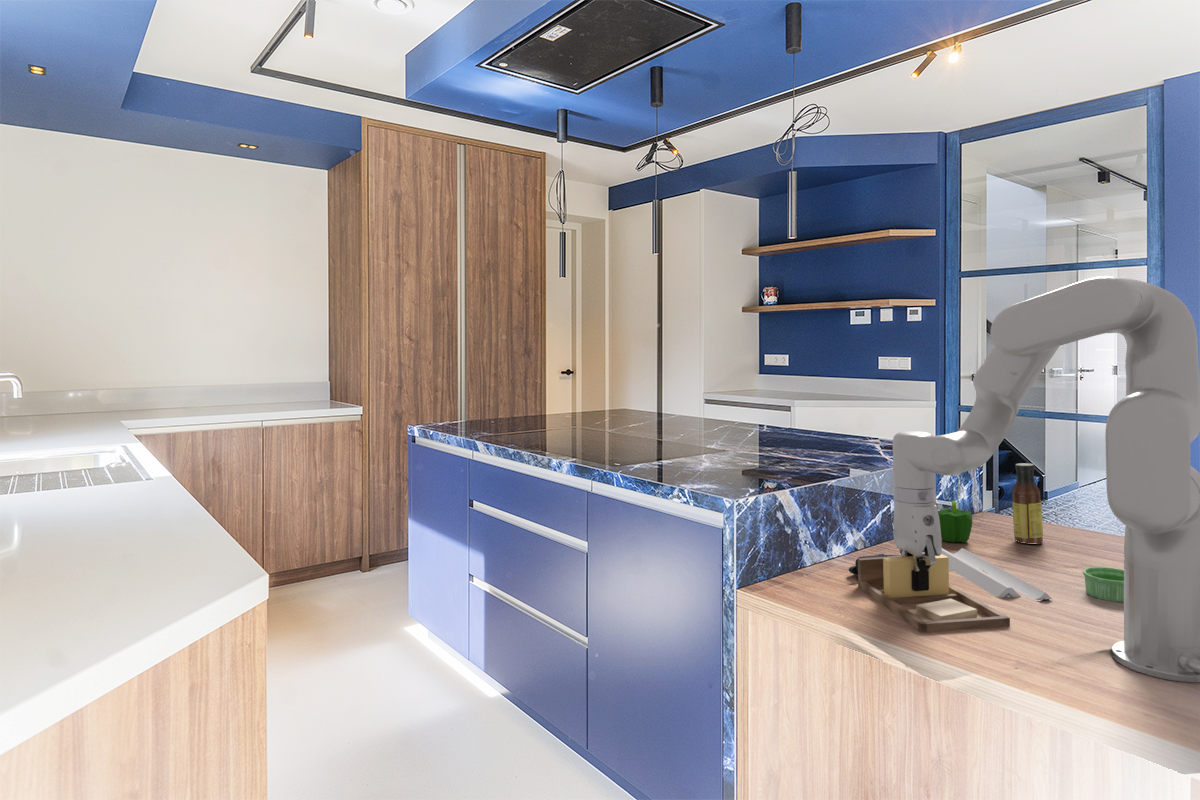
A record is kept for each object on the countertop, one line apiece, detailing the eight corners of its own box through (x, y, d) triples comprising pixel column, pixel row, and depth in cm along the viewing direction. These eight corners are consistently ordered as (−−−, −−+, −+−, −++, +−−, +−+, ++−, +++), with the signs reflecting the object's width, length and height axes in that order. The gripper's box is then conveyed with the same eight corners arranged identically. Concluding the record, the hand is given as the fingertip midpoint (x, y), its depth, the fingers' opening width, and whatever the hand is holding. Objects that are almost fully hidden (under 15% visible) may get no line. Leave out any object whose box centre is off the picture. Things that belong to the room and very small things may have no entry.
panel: (949, 602, 132) (948, 557, 132) (890, 607, 131) (889, 561, 131) (941, 598, 135) (941, 553, 134) (884, 602, 134) (883, 558, 133)
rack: (1009, 631, 118) (1009, 592, 117) (921, 638, 117) (920, 598, 116) (932, 586, 142) (931, 553, 141) (858, 591, 141) (857, 558, 140)
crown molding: (1051, 604, 131) (1051, 586, 131) (989, 607, 131) (989, 588, 131) (967, 557, 162) (966, 542, 162) (916, 559, 162) (916, 544, 162)
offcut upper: (977, 617, 121) (977, 609, 121) (941, 625, 119) (941, 616, 119) (950, 606, 127) (950, 598, 127) (916, 613, 125) (916, 605, 125)
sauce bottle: (1042, 540, 171) (1042, 462, 170) (1043, 546, 166) (1043, 466, 165) (1012, 537, 175) (1011, 461, 173) (1012, 544, 169) (1011, 465, 168)
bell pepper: (966, 547, 168) (965, 507, 168) (931, 541, 174) (931, 503, 174) (978, 540, 174) (977, 501, 173) (944, 535, 180) (943, 498, 179)
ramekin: (1099, 603, 129) (1099, 581, 129) (1073, 587, 138) (1073, 566, 138) (1151, 604, 128) (1151, 581, 127) (1121, 588, 137) (1121, 566, 136)
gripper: (957, 502, 124) (958, 600, 125) (911, 486, 140) (912, 573, 141) (918, 504, 124) (919, 603, 125) (876, 488, 140) (878, 576, 141)
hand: (916, 586), depth 133 cm, fingers closed on panel, 2 cm apart
